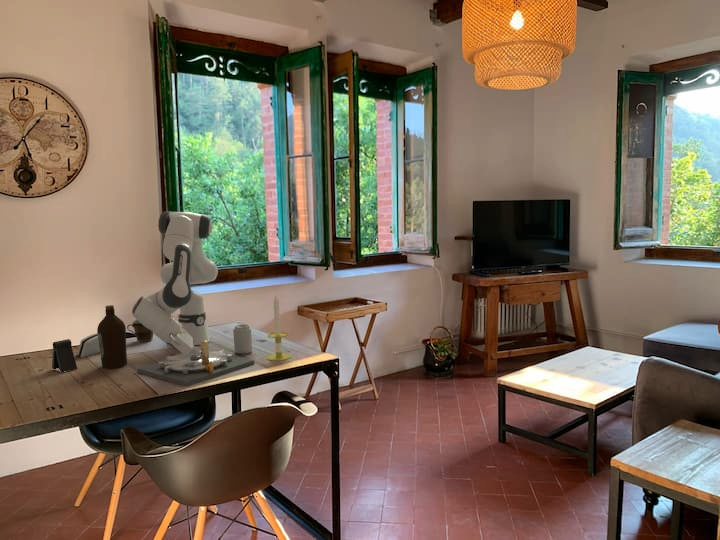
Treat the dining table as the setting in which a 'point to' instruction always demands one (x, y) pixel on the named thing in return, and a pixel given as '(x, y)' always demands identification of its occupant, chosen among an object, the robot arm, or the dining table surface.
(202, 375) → the index plate
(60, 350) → the door stopper
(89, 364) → the dining table surface
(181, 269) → the robot arm
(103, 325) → the olive oil
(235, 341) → the can
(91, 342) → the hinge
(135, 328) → the ceramic cup
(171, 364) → the sprocket
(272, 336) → the candle
